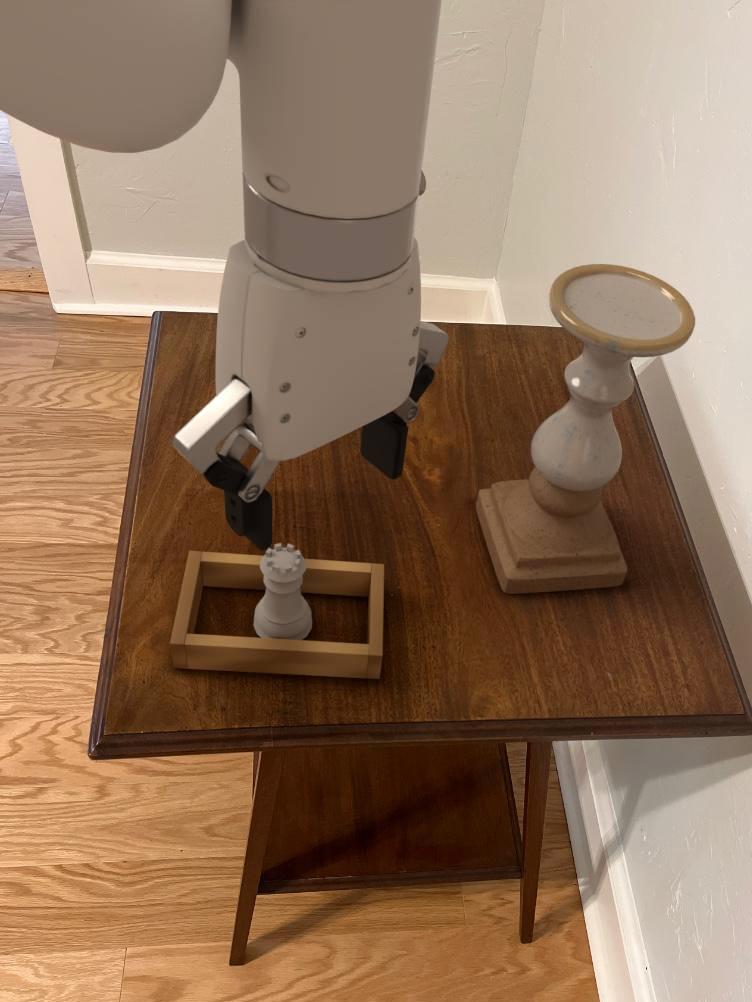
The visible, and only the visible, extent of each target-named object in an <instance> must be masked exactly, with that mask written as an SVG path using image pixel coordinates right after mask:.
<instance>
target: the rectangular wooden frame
mask: <svg viewBox="0 0 752 1002" xmlns="http://www.w3.org/2000/svg"><path fill="white" fill-rule="evenodd" d="M187 554H188V555H187V559H186V565H185V569H184V574H183V579H182V583H181V588H180V591H179V592H180V593H179V598H178V602H177V607H176V608H177V609H176V612H175V616H174V622H173V625H172V626H173V627H172V631H171V635H170V642H169V647H170V653H171V654H170V655H171V660H172V666H173V669H183V670H200V671H201V670H203V671H219V672H220V671H222V672H223V671H224V672H242V673H257V674H258V673H259V674H276V675H294V676H295V675H297V676H315V677H332V678H353V679H369V680H371V679H372V680H380V677H381V670H382V664H383V663H382V662H383V657H384V609H385V608H384V607H385V605H384V604H385V564H384V563H373V562H357V561H346V560H345V561H343V560H342V561H341V560H329V559H316V558H315V559H314V558H304V559H305V561H306V570H305V572H304V573H303V575H302V577H303V581H302V584H301V586H300V591H301V594H302V593H305V594H318V595H331V596H332V595H335V596H348V597H349V596H350V597H364V598H365V597H366V598H368V602H367V603H368V607H367V637H366V643H355V642H337V641H320V640H305V639H302V640H288V639H271V638H261V637H252V636H251V637H250V636H234V635H220V634H200V633H195V631H196V627H197V626H196V625H197V622H198V615H199V610H200V604H201V599H202V594H203V589H204V587H209V588H210V587H211V588H212V587H213V588H227V589H242V590H243V589H244V590H256V591H257V590H259V591H266V586H265V583H264V581H263V580H264V574H263V573H262V571H261V569H260V561H261V559H262V558H263V556H264V555H259V554H258V555H257V554H245V553H244V554H243V553H242V554H241V553H228V552H216V551H215V552H214V551H200V550H189V551H188V553H187Z"/></svg>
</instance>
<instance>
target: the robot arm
mask: <svg viewBox="0 0 752 1002" xmlns="http://www.w3.org/2000/svg"><path fill="white" fill-rule="evenodd" d="M442 1H443V0H0V112H3V113H4V114H6V115H8V116H9V117H12V118H14V119H16V120H17V121H19V122H21V123H23V124H25V125H27V126H29V127H32V128H34V129H35V130H37V131H39V132H42V133H44V134H46V135H49V136H51V137H54V138H57V139H59V140H62V141H65V142H68V143H70V144H73V145H76V146H78V147H82V148H86V149H90V150H96V151H100V152H106V153H111V154H112V153H113V154H136V153H142V152H147V151H153V150H157V149H160V148H163V147H165V146H167V145H169V144H171V143H173V142H176V141H177V140H179V139H181V137H183V136H184V135H186V134H187V133H188V132H190V131H191V130H192V129H193V128H194V127H196V126H197V125H198V124H199V122H200V121H201V120H202V118H203V117H204V116H205V114H207V112H208V110H209V109H210V107H211V106H212V104H213V103H214V100H215V98H216V97H217V94H218V92H219V91H220V87H221V84H222V81H223V79H224V75H225V69H226V66H227V65H226V64H227V60H228V61H230V63H231V64H233V65H234V67H235V69H236V71H237V73H238V79H239V80H238V81H239V102H240V103H239V111H240V113H239V114H240V136H241V137H240V140H241V143H240V144H241V169H242V198H243V199H242V201H243V226H244V227H243V230H244V239H243V240H241V241H238V242H237V243H235V244H233V245H231V246H230V248H229V249H228V250H229V251H228V254H227V257H226V262H225V266H224V270H223V274H222V275H223V276H222V282H221V288H220V292H219V300H218V301H219V302H218V309H217V321H216V337H215V340H216V342H215V376H214V378H215V397H213V398H212V399H211V400H210V401H209V402H207V404H206V405H205V406H204V407H203V408H202V409H200V410H199V412H198V413H197V414H195V415H194V417H192V418H191V419H190V420H189V421H187V423H186V424H185V425H184V426H182V428H181V429H180V430H178V431H177V432H176V433H175V435H173V437H172V440H171V445H172V447H173V448H174V449H175V450H176V451H177V453H179V455H180V456H182V458H183V459H184V460H185V461H186V462H187V463H188V464H189V465H190V466H191V467H192V468H193V470H194V471H196V473H198V474H199V475H200V476H201V477H202V478H203V479H204V480H205V481H206V482H207V483H209V485H211V486H212V487H214V488H217V489H219V490H222V491H223V497H224V511H225V512H224V513H225V520H226V523H227V524H228V526H229V527H230V529H231V530H232V531H233V532H234V533H235V534H236V535H237V536H238V537H244V536H245V538H247V540H249V541H250V542H251V544H253V545H254V546H255V547H256V548H257V549H258V550H259V551H261V552H264V551H266V550H268V548H271V547H272V544H273V542H274V541H273V540H274V539H273V538H274V536H273V532H274V531H273V497H272V495H271V493H270V492H269V491H268V490H266V487H267V485H268V483H269V482H270V481H271V479H272V477H273V476H274V474H275V472H276V471H277V469H278V467H279V466H280V464H281V463H282V462H283V461H288V460H292V459H296V458H298V457H301V456H303V455H305V454H308V453H310V452H312V451H314V450H316V449H318V448H320V447H323V446H325V445H327V444H329V443H332V442H333V441H335V440H337V439H339V438H341V437H343V436H345V435H348V434H350V433H352V432H353V431H356V430H358V429H361V437H360V446H359V447H360V448H359V452H360V455H361V457H363V458H364V459H365V460H366V461H368V462H369V463H370V464H371V465H372V466H373V467H374V468H376V469H377V470H378V471H380V472H381V473H382V474H383V475H384V476H385V477H386V478H388V479H390V480H393V481H394V480H397V479H399V478H401V477H402V475H403V472H404V466H405V465H404V463H405V456H406V449H407V442H408V435H409V426H408V424H410V423H412V422H413V421H414V420H415V419H416V418H417V417H418V415H419V413H420V406H419V405H418V402H419V400H420V399H421V398H422V396H423V395H424V393H425V392H426V391H427V389H428V388H429V387H430V385H431V384H432V383H433V381H434V379H435V375H436V373H435V370H434V368H435V367H436V366H438V364H439V362H440V360H441V358H442V356H443V354H444V351H445V350H446V348H447V346H448V343H449V341H450V335H449V334H448V333H447V332H445V331H444V330H442V328H441V329H440V327H438V326H437V325H436V324H434V323H432V322H426V321H422V320H421V319H422V317H421V316H422V279H421V277H422V276H421V261H420V251H419V244H418V240H417V238H416V237H415V232H416V223H417V215H418V208H419V207H418V206H419V205H418V204H419V198H420V196H422V195H423V194H424V193H425V191H426V189H427V181H426V176H425V174H424V171H423V170H422V169H423V163H424V155H425V147H426V145H425V144H426V137H427V128H428V119H429V111H430V103H431V94H432V86H433V79H434V68H435V59H436V53H437V51H436V50H437V43H438V34H439V25H440V17H441V9H442ZM224 440H225V442H224V443H223V444H222V442H223V441H224ZM220 444H222V446H221V448H220V450H219V452H218V451H217V450H218V448H219V446H220ZM251 446H253V447H254V448H255V449H256V450H257V451H258V452H259V453H258V454H257V455H256V458H254V461H253V462H252V464H251V466H250V467H249V468H248V467H247V466H246V465H245V464H243V463H242V460H243V459H244V457H245V455H246V454H247V451H248V450H249V448H250V447H251Z"/></svg>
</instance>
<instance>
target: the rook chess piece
mask: <svg viewBox="0 0 752 1002" xmlns="http://www.w3.org/2000/svg"><path fill="white" fill-rule="evenodd" d="M282 546H283V545H282V542H279V543H274V545H273V549H272V548H271V547H269V548H267V549H266V550H265V554H264V555H262V556H263V558H262V559H261V561H260V569H261V571H262V573H263V574H264V580H263V581H264V583H265V586H266V590H265V593H264V596H263V597H262V598H261V599H260V601H259V602H258V603H257V604H256V607H255V609H254V617H253V628H254V631H255V633H256V635H258V636H259V638H271V639H288V640H305V638H307V637H308V635H309V633H310V632H311V630H312V628H313V618H312V616H313V615H312V609H311V607H310V606H309V602H308V601H307V600H306V599H305V598H304V596H303V595H302V592H301V591H300V586H301V584H302V581H303V577H302V575H303V573H304V572H305V570H306V561H305V559H306V558H305V557H304V556H303V555H302V553H301V551H300V549H296V550H295V545H294V544H291V543H287V545H286V547H282Z"/></svg>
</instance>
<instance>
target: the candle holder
mask: <svg viewBox="0 0 752 1002" xmlns="http://www.w3.org/2000/svg"><path fill="white" fill-rule="evenodd" d="M548 303H549V308H550V311H551V314H552V315H553V317H554V319H555V320H556V322H557V323H558V324H559V325H560V327H561V328H562V329H564V330H565V331H566V332H567V333H568V334H569V335H571V336H572V337H574V338H575V339H577V340H579V341H580V342H582V343H583V349H582V353H580V355H579V356H578V357H577V358H575V359H574V360H572V361H570V362H569V363H568V364H567V366H566V367H565V369H564V373H563V378H564V381H565V384H566V385H567V390H568V393H569V394H570V397H569V400H568V401H567V402H566V403H565V404H564V405H563V406H562V407H561V408H559V409H558V410H557V411H555V412H553V413H552V414H550V415H549V416H548V417H547V418H546V419H544V420H543V421H542V422H541V424H539V426H538V427H537V429H536V430H535V432H534V434H533V436H532V439H531V443H530V448H529V449H530V458H531V462H532V463H533V465H534V468H533V469H532V470H531V472H530V475H529V477H528V479H513V480H502V481H497V482H494V483H491V485H490V488H482V489H479V491H478V494H477V499H476V502H475V510H476V514H477V518H478V521H479V524H480V528H481V531H482V534H483V537H484V540H485V543H486V546H487V550H488V553H489V556H490V559H491V562H492V565H493V569H494V572H495V576H496V578H497V582H498V583H499V586H500V588H501V591H502V592H503V593H504V594H508V595H514V594H515V595H516V594H518V595H519V594H537V593H550V592H563V591H577V590H592V589H604V588H612V587H613V588H614V587H619V586H622V585H623V583H624V581H625V579H626V576H627V573H628V566H627V563H626V560H625V557H624V555H623V552H622V550H621V547H620V544H619V541H618V537H617V535H616V533H615V529H614V528H613V527H614V526H613V525H612V522H611V520H610V518H609V515H608V513H607V510H606V509H605V506H604V504H603V502H602V500H601V498H602V494H603V487H604V486H606V485H608V484H609V483H610V482H611V481H612V480H614V478H615V477H616V476H617V474H618V473H619V470H620V468H621V465H622V460H623V447H622V441H621V437H620V435H619V432H618V430H617V427H616V424H615V422H614V421H615V420H614V418H613V412H614V409H615V408H616V407H617V406H619V405H621V403H623V402H624V401H627V400H628V399H629V398H630V397H631V395H632V394H633V392H634V387H635V382H634V378H633V377H632V374H631V372H630V364H631V362H632V360H633V359H634V358H654V357H660V356H665V355H668V354H671V353H673V352H675V351H677V350H679V349H681V348H682V347H683V346H684V345H685V344H687V343H688V341H689V340H690V339H691V337H692V335H693V334H694V333H693V332H694V330H695V326H696V316H695V312H694V309H693V308H692V306H691V304H690V302H689V301H688V300H687V298H686V297H685V296H684V295H683V294H682V293H681V292H680V291H679V290H678V289H676V288H675V287H674V286H672V285H671V284H669V283H667V282H666V281H664V280H663V279H662V278H661V279H660V278H659V277H657V276H655V275H653V274H650V273H648V272H645V271H642V270H639V269H636V268H632V267H627V266H625V265H617V264H611V263H610V264H608V263H590V264H589V263H588V264H582V265H578V266H575V267H572V268H570V269H567V270H565V271H564V272H562V273H561V274H559V275H558V276H556V278H555V279H554V280H553V282H552V283H551V286H550V289H549V293H548Z"/></svg>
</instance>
